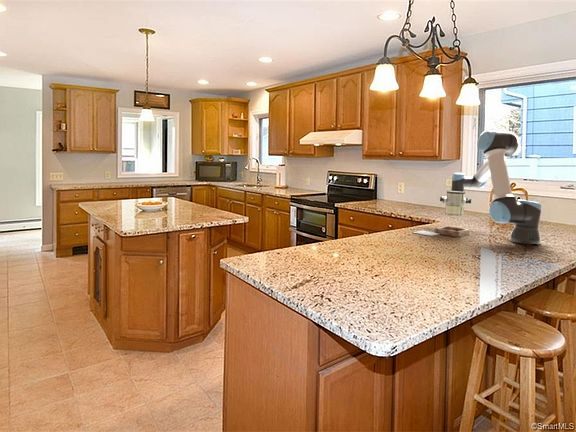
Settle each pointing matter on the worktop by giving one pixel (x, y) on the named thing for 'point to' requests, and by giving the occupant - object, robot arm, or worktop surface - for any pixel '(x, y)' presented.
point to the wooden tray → (452, 231)
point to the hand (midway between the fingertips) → (454, 201)
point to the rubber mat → (426, 233)
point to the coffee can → (455, 203)
